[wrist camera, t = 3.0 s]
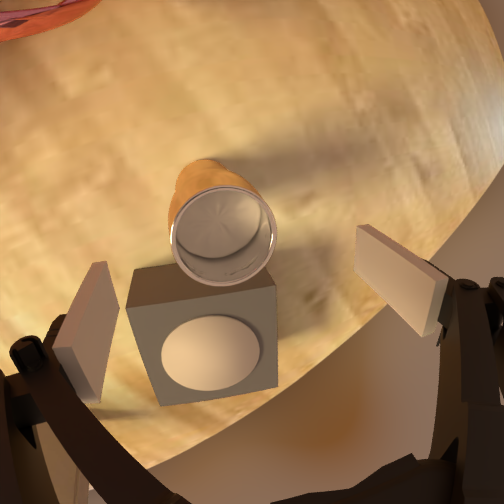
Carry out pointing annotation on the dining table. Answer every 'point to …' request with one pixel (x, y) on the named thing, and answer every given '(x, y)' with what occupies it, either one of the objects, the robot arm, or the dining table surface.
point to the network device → (62, 469)
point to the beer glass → (219, 225)
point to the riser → (204, 334)
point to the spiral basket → (42, 18)
